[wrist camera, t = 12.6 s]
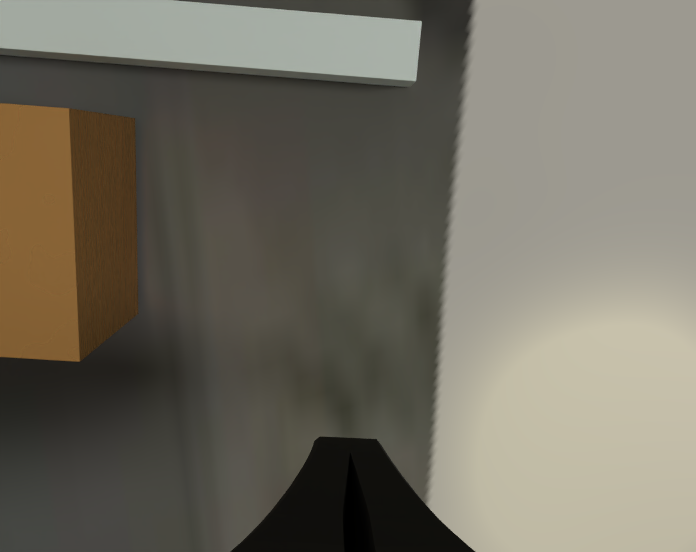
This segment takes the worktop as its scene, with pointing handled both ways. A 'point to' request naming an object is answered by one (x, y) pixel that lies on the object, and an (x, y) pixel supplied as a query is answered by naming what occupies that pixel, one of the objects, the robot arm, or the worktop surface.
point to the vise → (214, 39)
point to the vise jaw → (65, 230)
